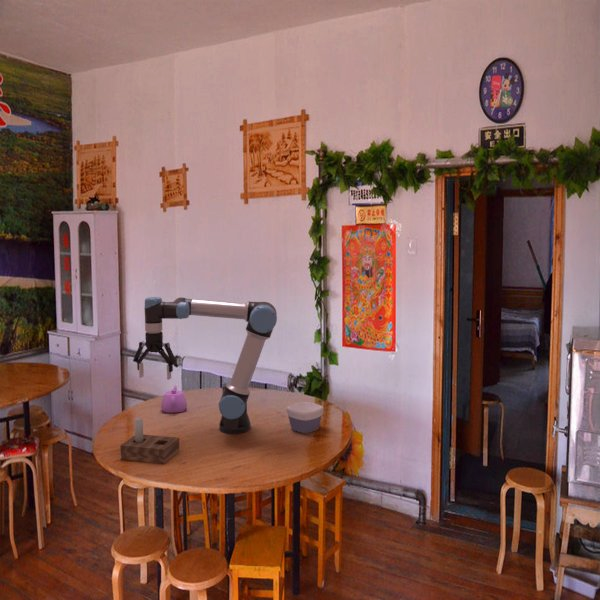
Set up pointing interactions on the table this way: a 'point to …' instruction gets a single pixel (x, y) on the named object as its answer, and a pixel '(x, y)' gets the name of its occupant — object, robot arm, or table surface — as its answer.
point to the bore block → (150, 449)
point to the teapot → (174, 401)
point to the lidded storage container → (304, 416)
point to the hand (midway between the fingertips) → (155, 378)
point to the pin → (138, 430)
